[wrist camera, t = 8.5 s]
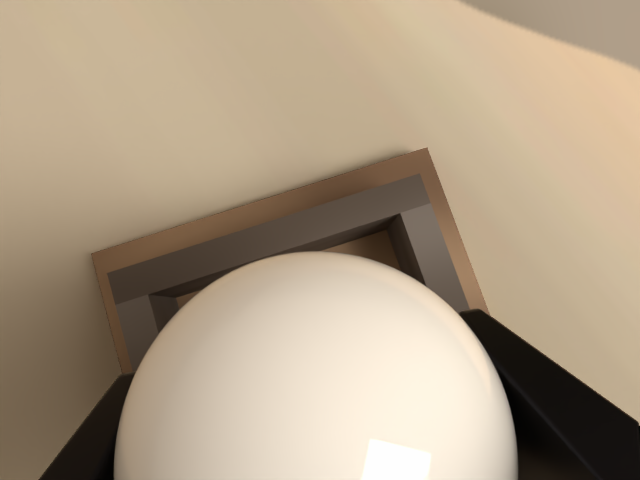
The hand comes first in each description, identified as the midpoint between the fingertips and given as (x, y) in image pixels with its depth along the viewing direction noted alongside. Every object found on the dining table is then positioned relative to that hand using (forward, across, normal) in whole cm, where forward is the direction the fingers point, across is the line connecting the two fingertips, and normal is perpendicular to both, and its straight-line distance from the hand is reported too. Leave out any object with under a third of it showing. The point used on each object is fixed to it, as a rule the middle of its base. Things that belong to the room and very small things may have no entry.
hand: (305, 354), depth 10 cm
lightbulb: (+4, 0, +6) cm, 7 cm away
